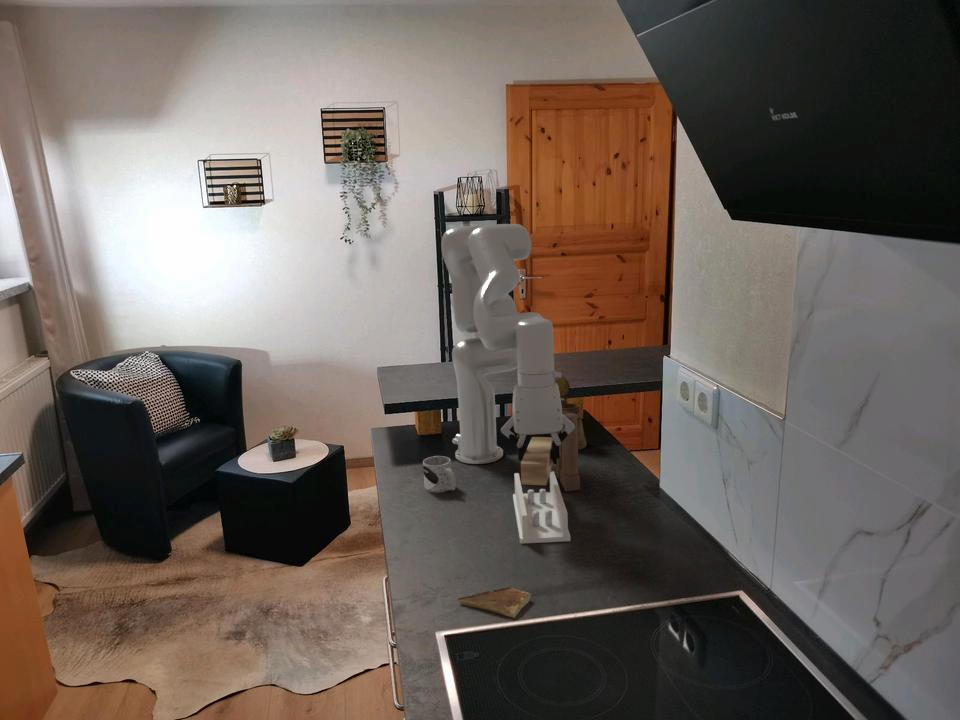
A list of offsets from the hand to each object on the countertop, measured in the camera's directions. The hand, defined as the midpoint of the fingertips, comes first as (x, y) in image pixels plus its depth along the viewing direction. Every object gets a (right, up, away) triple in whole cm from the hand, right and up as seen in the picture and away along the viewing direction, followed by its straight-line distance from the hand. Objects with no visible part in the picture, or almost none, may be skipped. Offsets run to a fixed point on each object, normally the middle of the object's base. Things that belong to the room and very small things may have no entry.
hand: (538, 462), depth 156 cm
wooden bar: (0, -2, 0) cm, 2 cm away
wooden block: (+8, -8, +21) cm, 24 cm away
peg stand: (0, -13, +3) cm, 13 cm away
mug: (-21, -10, +21) cm, 31 cm away
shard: (-9, -21, -29) cm, 37 cm away
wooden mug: (+11, -1, +48) cm, 50 cm away
